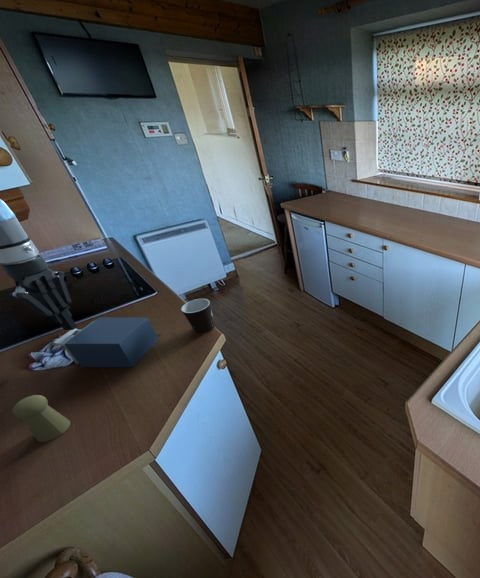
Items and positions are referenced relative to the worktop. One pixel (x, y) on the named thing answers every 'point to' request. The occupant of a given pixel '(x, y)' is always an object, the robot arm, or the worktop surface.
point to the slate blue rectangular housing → (113, 342)
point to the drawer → (65, 337)
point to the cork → (41, 418)
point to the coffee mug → (199, 315)
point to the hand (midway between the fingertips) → (70, 328)
